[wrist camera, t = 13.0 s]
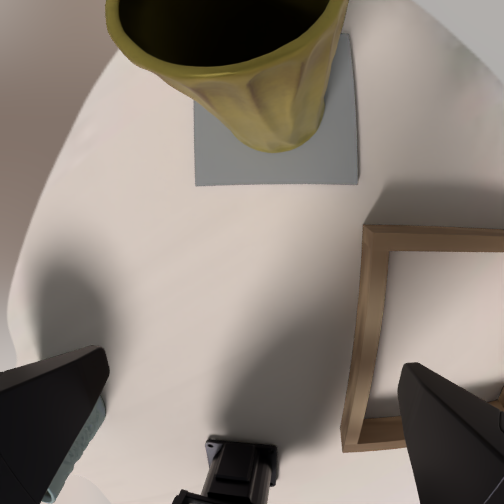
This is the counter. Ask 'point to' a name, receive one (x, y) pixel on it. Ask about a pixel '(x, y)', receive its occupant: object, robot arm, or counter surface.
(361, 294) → the wooden frame
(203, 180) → the slate mat
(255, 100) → the vase
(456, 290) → the counter surface
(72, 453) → the grey-blue cup
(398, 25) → the counter surface
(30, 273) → the counter surface
